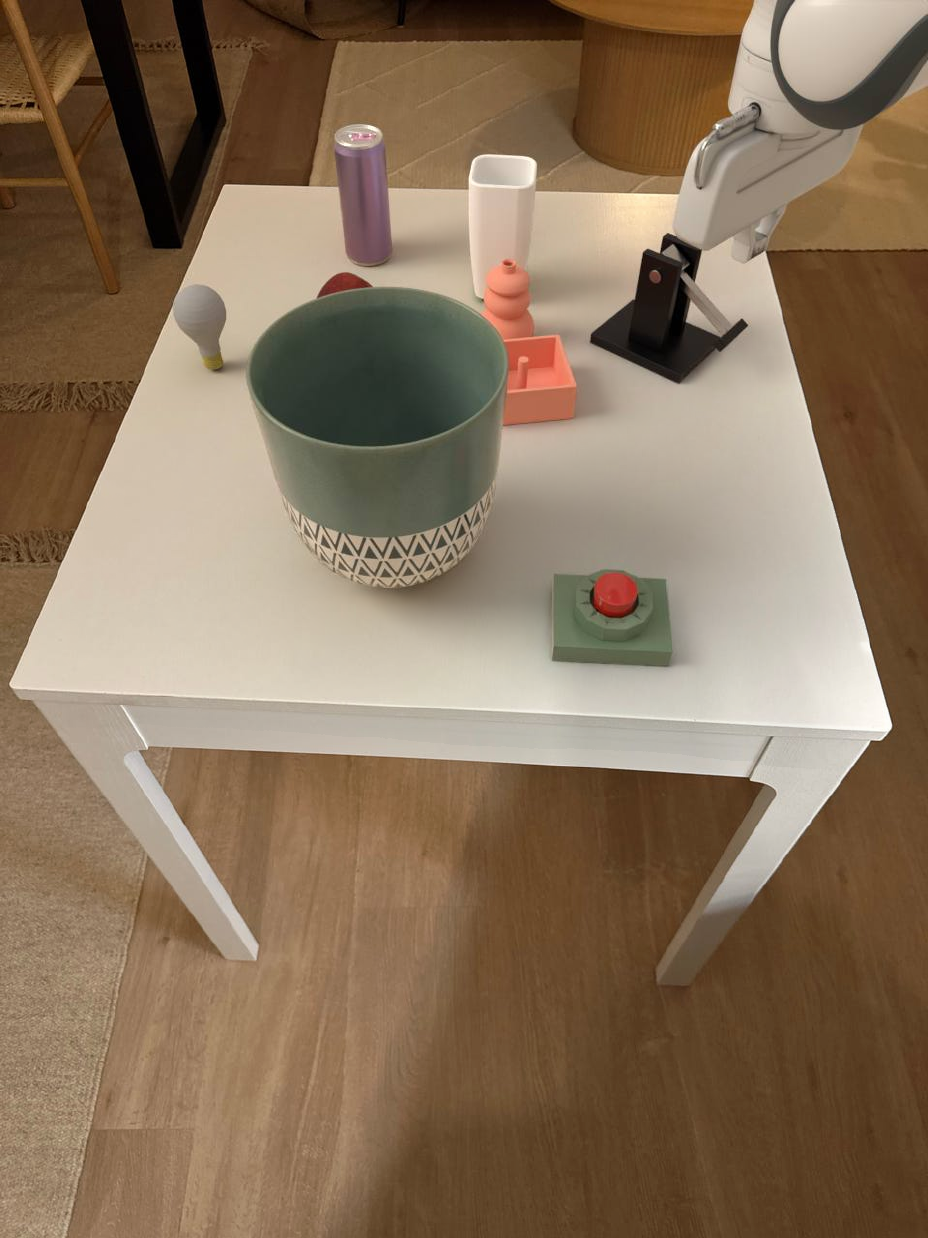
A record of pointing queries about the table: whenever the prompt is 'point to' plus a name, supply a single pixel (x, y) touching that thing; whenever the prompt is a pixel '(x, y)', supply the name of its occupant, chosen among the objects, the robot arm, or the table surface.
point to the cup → (500, 213)
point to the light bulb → (202, 320)
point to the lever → (706, 304)
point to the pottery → (528, 352)
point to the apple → (343, 284)
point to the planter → (383, 428)
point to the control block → (610, 623)
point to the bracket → (659, 318)
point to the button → (615, 594)
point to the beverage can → (363, 193)
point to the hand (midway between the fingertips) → (747, 255)
